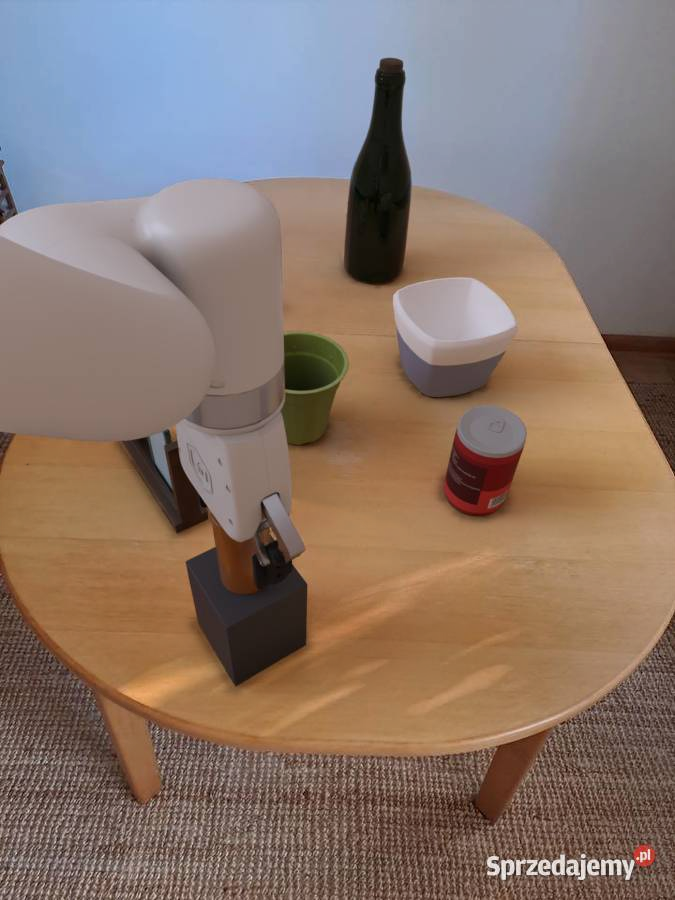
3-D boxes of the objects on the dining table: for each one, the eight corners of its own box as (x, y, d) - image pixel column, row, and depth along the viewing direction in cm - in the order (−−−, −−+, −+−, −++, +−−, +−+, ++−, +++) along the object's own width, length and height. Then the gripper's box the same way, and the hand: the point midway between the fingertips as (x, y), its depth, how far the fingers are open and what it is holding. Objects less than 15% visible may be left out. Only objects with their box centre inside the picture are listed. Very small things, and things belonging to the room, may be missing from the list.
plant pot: (250, 458, 84) (245, 390, 76) (258, 396, 93) (255, 328, 85) (344, 461, 85) (349, 394, 77) (344, 399, 93) (348, 332, 85)
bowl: (464, 333, 105) (478, 270, 97) (514, 394, 95) (534, 330, 87) (374, 350, 101) (380, 285, 93) (416, 416, 91) (428, 350, 83)
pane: (172, 504, 76) (153, 413, 66) (147, 466, 80) (126, 375, 70) (188, 496, 77) (172, 406, 67) (163, 459, 81) (144, 369, 71)
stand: (235, 687, 64) (226, 628, 56) (198, 623, 68) (184, 561, 60) (306, 645, 67) (308, 584, 59) (266, 587, 71) (262, 523, 64)
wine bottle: (407, 260, 120) (434, 53, 96) (396, 290, 113) (422, 75, 89) (351, 250, 122) (363, 45, 98) (336, 280, 114) (346, 66, 91)
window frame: (176, 534, 76) (159, 454, 66) (119, 443, 85) (98, 362, 76) (209, 519, 77) (196, 439, 68) (149, 432, 87) (131, 351, 78)
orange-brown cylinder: (235, 603, 57) (227, 540, 51) (210, 565, 60) (200, 501, 54) (281, 579, 59) (279, 515, 53) (255, 543, 62) (250, 478, 55)
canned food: (508, 476, 84) (530, 412, 76) (501, 525, 79) (524, 460, 71) (448, 463, 85) (463, 398, 77) (437, 509, 80) (452, 444, 72)
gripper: (121, 330, 47) (159, 489, 59) (240, 488, 37) (255, 639, 50) (217, 299, 50) (234, 456, 62) (350, 437, 40) (339, 591, 53)
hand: (243, 537), depth 56 cm, fingers open, 9 cm apart
